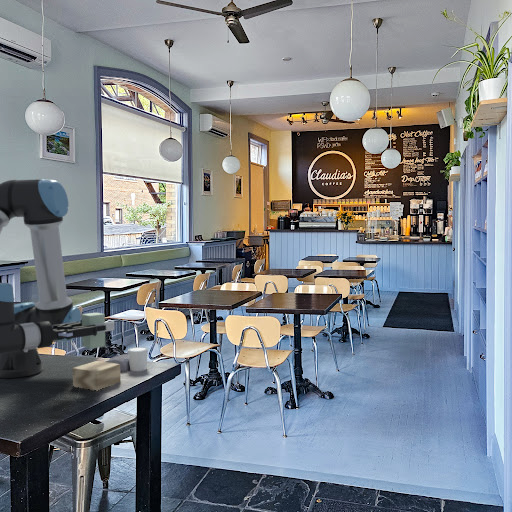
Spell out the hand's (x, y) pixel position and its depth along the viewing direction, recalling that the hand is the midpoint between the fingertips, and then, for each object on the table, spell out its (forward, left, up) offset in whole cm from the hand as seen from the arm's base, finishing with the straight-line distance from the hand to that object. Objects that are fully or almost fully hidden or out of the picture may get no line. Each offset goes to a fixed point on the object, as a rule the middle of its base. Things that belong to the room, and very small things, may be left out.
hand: (108, 324), depth 171 cm
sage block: (0, -5, -6) cm, 8 cm away
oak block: (0, -5, -18) cm, 19 cm away
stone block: (-13, +12, -19) cm, 26 cm away
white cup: (-6, +14, -18) cm, 24 cm away
